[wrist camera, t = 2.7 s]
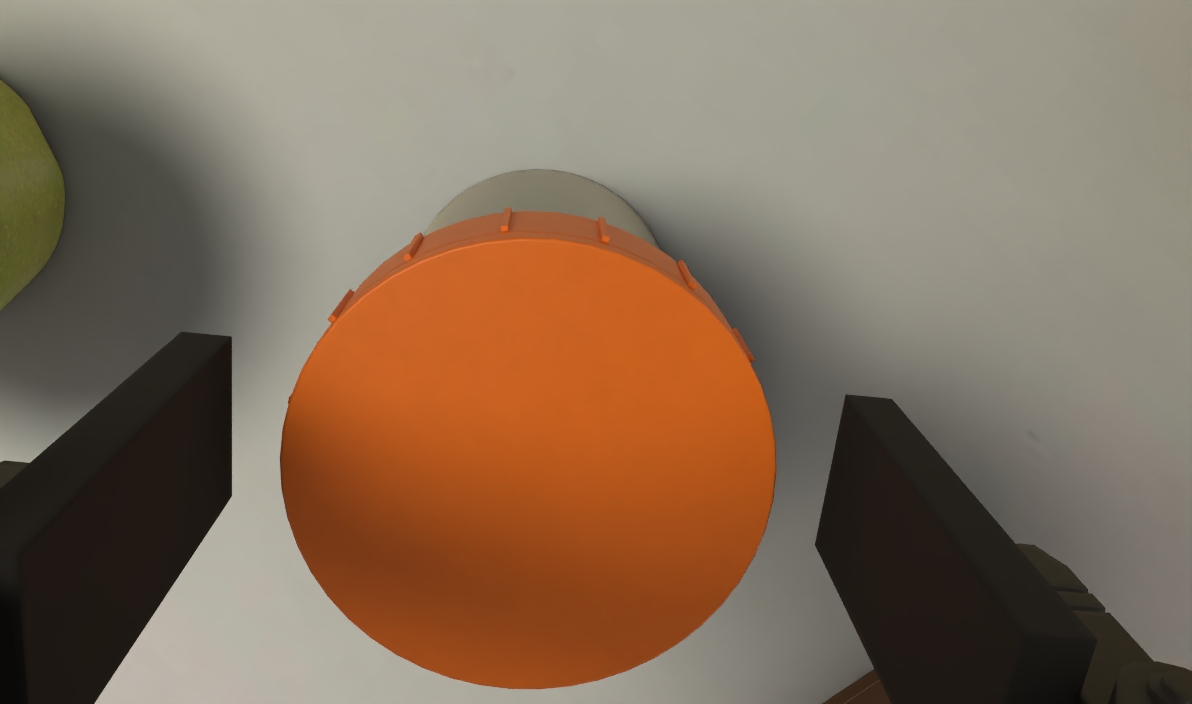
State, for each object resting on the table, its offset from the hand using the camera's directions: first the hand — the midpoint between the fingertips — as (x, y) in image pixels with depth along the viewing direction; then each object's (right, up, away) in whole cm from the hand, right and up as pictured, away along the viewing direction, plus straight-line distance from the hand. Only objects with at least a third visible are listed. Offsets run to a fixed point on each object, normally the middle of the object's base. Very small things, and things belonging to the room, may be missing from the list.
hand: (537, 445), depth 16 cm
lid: (0, 0, -1) cm, 1 cm away
